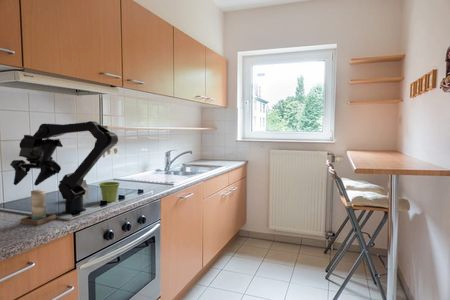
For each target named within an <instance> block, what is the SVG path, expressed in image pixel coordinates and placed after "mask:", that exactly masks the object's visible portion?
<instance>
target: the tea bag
mask: <svg viewBox="0 0 450 300" xmlns="http://www.w3.org/2000/svg"><path fill="white" fill-rule="evenodd" d="M81 186H82V187H83V188H84V189H85V190H86V192H85V195H82V196H83V202H84V201H88V200H89V199H90V197H89V186H88V184H87V180H86V179H83V183H82V185H81Z"/></svg>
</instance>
